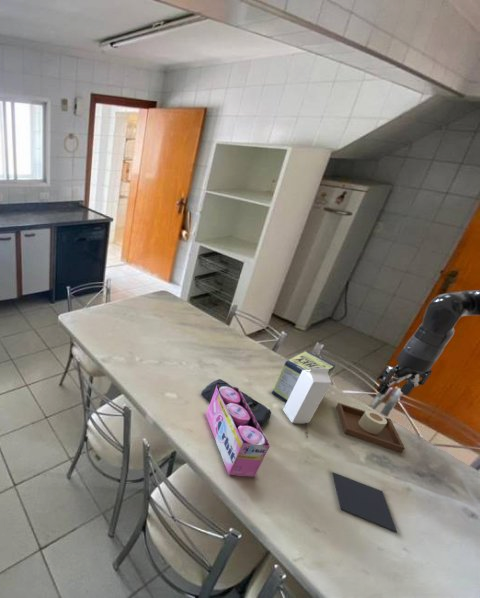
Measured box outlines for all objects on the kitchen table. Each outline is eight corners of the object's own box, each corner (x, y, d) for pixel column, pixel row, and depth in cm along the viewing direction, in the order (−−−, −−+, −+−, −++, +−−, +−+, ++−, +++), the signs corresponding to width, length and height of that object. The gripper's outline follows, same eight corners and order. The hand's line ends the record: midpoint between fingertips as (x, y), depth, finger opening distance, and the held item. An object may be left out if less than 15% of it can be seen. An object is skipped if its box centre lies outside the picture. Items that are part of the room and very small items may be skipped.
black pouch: (220, 380, 131) (223, 370, 129) (274, 416, 116) (279, 406, 114) (196, 394, 123) (199, 384, 121) (252, 435, 108) (257, 425, 106)
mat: (381, 492, 93) (382, 491, 93) (396, 532, 83) (397, 531, 83) (332, 473, 97) (332, 472, 97) (340, 509, 88) (341, 508, 87)
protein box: (318, 397, 127) (336, 365, 120) (298, 411, 119) (315, 378, 112) (291, 380, 134) (306, 349, 127) (270, 393, 127) (285, 361, 120)
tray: (386, 425, 116) (390, 419, 115) (400, 454, 105) (405, 448, 104) (334, 408, 122) (338, 402, 120) (342, 434, 111) (346, 428, 109)
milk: (282, 410, 119) (305, 361, 109) (298, 411, 119) (323, 362, 109) (292, 423, 114) (317, 373, 104) (309, 424, 114) (336, 374, 104)
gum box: (203, 412, 115) (213, 382, 109) (226, 413, 115) (237, 384, 109) (228, 475, 94) (242, 443, 88) (255, 477, 94) (272, 445, 88)
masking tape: (376, 424, 115) (384, 414, 113) (382, 437, 110) (389, 426, 108) (356, 418, 117) (363, 407, 115) (360, 430, 112) (367, 419, 110)
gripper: (411, 360, 94) (382, 401, 102) (454, 360, 96) (423, 401, 103) (387, 344, 101) (362, 384, 108) (428, 345, 102) (400, 385, 110)
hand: (392, 392), depth 106 cm, fingers open, 8 cm apart
